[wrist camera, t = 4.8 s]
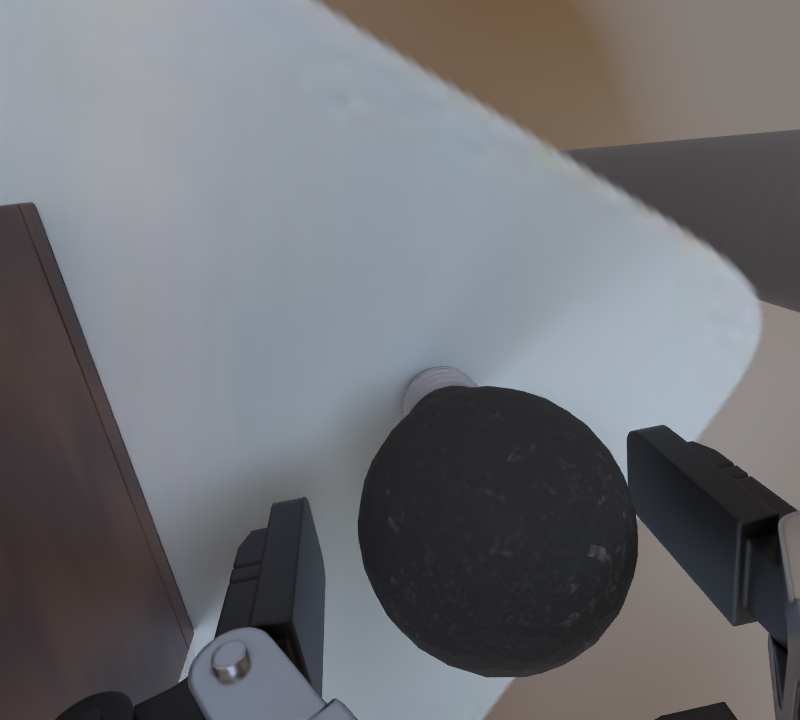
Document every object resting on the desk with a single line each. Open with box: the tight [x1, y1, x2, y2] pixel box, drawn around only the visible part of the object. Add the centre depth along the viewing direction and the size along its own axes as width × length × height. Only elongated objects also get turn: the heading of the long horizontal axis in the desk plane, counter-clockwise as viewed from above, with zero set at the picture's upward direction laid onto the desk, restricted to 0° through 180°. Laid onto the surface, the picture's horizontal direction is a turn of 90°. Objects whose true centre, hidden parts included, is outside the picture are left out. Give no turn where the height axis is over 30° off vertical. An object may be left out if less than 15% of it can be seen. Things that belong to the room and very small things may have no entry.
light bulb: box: [358, 367, 638, 677], centre depth 14 cm, size 6×6×10 cm
